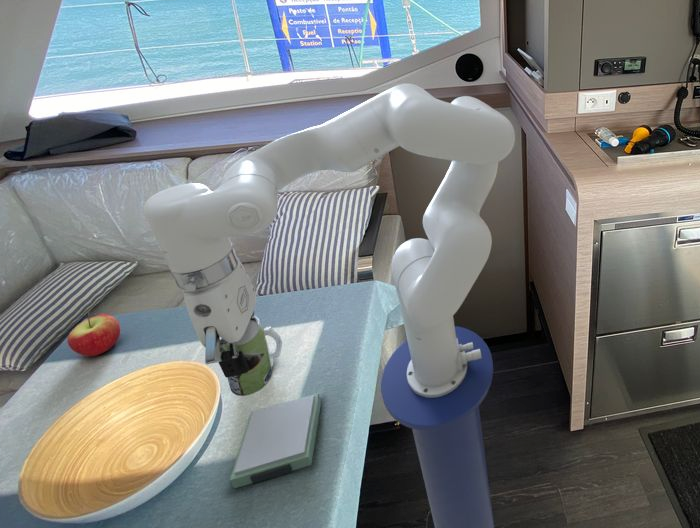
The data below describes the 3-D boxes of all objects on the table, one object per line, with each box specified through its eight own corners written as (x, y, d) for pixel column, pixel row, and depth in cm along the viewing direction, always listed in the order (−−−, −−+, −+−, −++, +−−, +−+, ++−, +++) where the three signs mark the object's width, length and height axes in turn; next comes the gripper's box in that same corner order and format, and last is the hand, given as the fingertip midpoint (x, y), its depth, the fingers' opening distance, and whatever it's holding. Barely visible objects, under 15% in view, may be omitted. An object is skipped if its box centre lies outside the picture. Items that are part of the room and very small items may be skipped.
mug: (233, 385, 86) (214, 344, 81) (247, 358, 92) (230, 317, 88) (284, 377, 87) (268, 336, 83) (295, 351, 93) (280, 310, 89)
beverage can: (247, 367, 73) (226, 314, 68) (288, 367, 72) (269, 314, 68) (223, 401, 67) (198, 346, 62) (266, 401, 66) (244, 345, 62)
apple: (134, 330, 102) (116, 299, 98) (112, 359, 94) (92, 326, 90) (95, 338, 100) (75, 306, 96) (69, 368, 92) (47, 335, 88)
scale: (321, 401, 82) (317, 390, 81) (311, 467, 71) (306, 456, 70) (254, 419, 79) (250, 409, 78) (233, 491, 68) (227, 480, 67)
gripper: (213, 302, 53) (254, 397, 60) (252, 228, 68) (282, 311, 75) (144, 317, 51) (196, 412, 58) (201, 237, 67) (236, 321, 74)
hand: (244, 354), depth 67 cm, fingers closed on beverage can, 6 cm apart
